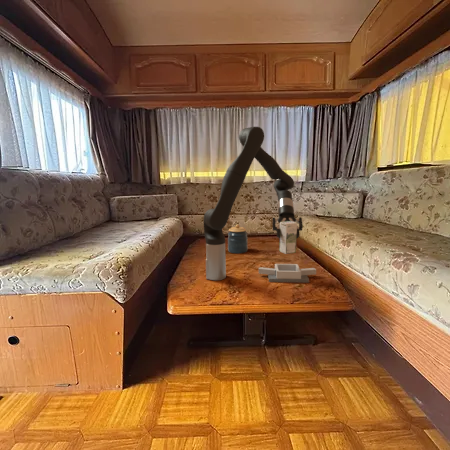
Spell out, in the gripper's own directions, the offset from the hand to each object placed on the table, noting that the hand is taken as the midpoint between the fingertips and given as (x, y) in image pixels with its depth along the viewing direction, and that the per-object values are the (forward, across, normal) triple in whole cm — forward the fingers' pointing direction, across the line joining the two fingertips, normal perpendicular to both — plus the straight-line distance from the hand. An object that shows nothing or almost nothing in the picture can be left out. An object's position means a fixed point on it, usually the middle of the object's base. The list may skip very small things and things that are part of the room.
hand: (288, 237), depth 129 cm
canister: (-20, -26, +49) cm, 59 cm away
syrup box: (+4, 0, +6) cm, 8 cm away
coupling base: (+13, 0, +15) cm, 20 cm away
